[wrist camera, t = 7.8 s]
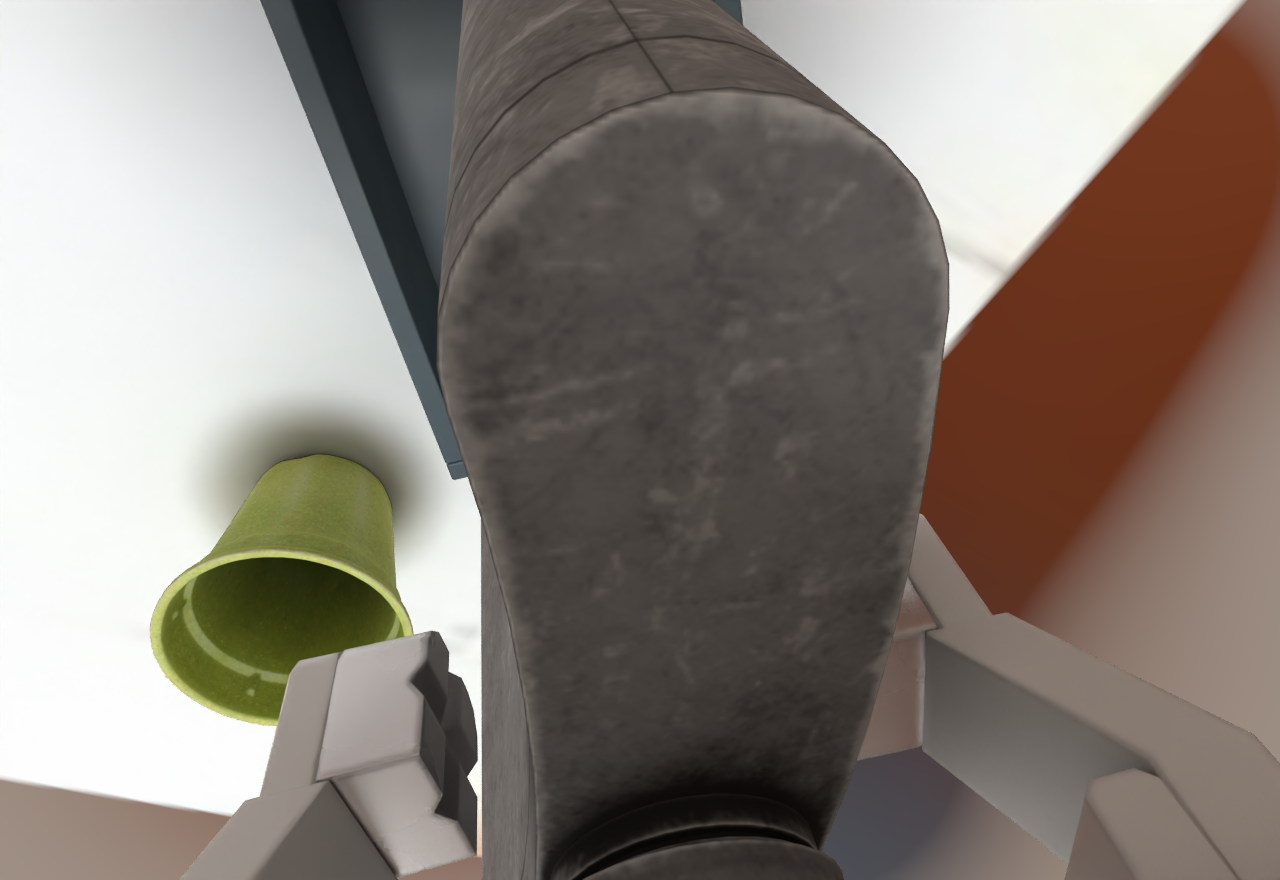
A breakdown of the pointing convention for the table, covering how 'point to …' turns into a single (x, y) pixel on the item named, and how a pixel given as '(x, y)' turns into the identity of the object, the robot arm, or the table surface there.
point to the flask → (678, 434)
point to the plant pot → (282, 588)
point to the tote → (389, 150)
